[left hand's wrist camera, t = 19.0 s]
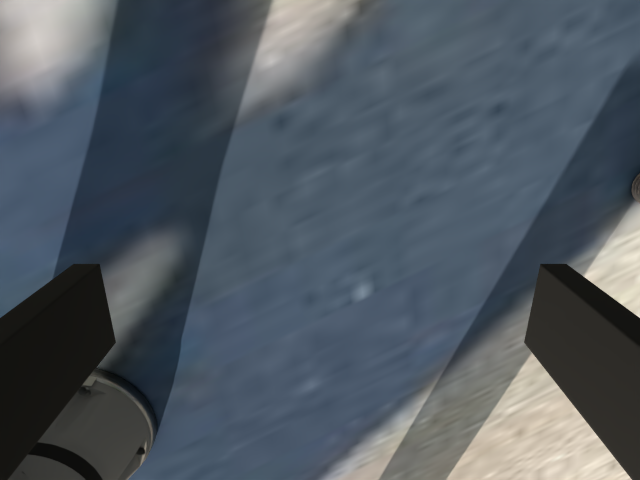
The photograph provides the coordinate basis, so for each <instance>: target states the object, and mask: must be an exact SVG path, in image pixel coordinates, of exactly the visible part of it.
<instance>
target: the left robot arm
mask: <svg viewBox="0 0 640 480" xmlns="http://www.w3.org/2000/svg"><path fill="white" fill-rule="evenodd" d="M115 343H116V341H115V337H114V332H113V327H112V322H111V317H110V312H109V308H108V303H107V298H106V293H105V288H104V283H103V279H102V274H101V269H100V264H73V265H72V266H70V267H69V268H68V269H66V270H65V271H64V272H62V273H61V274H60V275H58V276H57V277H55V278H54V279H53V280H51V281H50V282H49V283H47V284H46V285H45V286H43V287H42V288H41V289H39V290H38V291H36V292H35V293H34V294H32V295H31V296H30V297H28V298H27V299H26V300H24V301H23V302H22V303H20V304H19V305H17V306H16V307H15V308H13V309H12V310H11V311H9V312H8V313H7V314H5V315H4V316H2V317H1V318H0V480H128V478H129V477H130V476H131V475H132V474H133V473H134V472H135V471H136V470H137V469H138V468H139V467H140V466H141V464H142V463H143V462H144V461H145V459H146V458H147V456H148V454H149V452H150V450H151V448H152V445H153V443H154V441H155V438H156V433H157V422H156V418H155V414H154V412H153V409H152V407H151V405H150V404H149V402H148V401H147V399H146V398H145V397H144V396H143V395H142V394H141V393H140V391H138V390H137V389H136V388H135V387H134V386H133V385H131V384H130V383H128V382H127V381H125V380H124V379H122V378H120V377H118V376H116V375H114V374H111V373H109V372H106V371H103V370H99V369H95V368H96V367H97V366H98V364H99V363H100V362H101V361H102V359H103V358H104V357H105V355H106V354H107V353H108V352H109V350H110V349H111V348H112V347H113V345H114V344H115ZM524 343H525V344H526V345H527V347H528V348H529V349H530V350H531V352H532V353H533V354H534V355H535V357H536V358H537V359H538V361H539V362H540V363H541V364H542V366H543V367H544V368H545V369H546V371H547V372H548V373H549V375H550V376H551V377H552V378H553V380H554V381H555V382H556V383H557V385H558V386H559V387H560V389H561V390H562V391H563V392H564V394H565V395H566V396H567V397H568V399H569V400H570V401H571V403H572V404H573V405H574V406H575V408H576V409H577V410H578V411H579V413H580V414H581V415H582V417H583V418H584V419H585V420H586V422H587V423H588V424H589V425H590V427H591V428H592V429H593V431H594V432H595V433H596V434H597V436H598V437H599V438H600V439H601V441H602V442H603V443H604V445H605V446H606V447H607V448H608V450H609V451H610V452H611V453H612V455H613V456H614V457H615V459H616V460H617V461H618V462H619V464H620V465H621V466H622V467H623V469H624V470H625V471H626V472H627V474H628V475H629V476H630V478H631V479H632V480H640V318H639V317H638V316H636V315H635V314H633V313H632V312H631V311H629V310H628V309H627V308H625V307H624V306H623V305H621V304H620V303H618V302H617V301H616V300H614V299H613V298H612V297H610V296H609V295H608V294H606V293H605V292H604V291H602V290H601V289H599V288H598V287H597V286H595V285H594V284H593V283H591V282H590V281H589V280H587V279H586V278H585V277H583V276H582V275H580V274H579V273H578V272H576V271H575V270H574V269H572V268H571V267H570V266H568V265H567V264H540V269H539V274H538V279H537V283H536V288H535V293H534V298H533V303H532V308H531V312H530V317H529V322H528V327H527V332H526V337H525V341H524Z"/></svg>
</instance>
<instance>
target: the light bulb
mask: <svg viewBox="0 0 640 480" xmlns="http://www.w3.org/2000/svg"><path fill="white" fill-rule="evenodd" d="M632 195H633V197H634V198H635V200H636V201H637V202H639V203H640V174H639V175H638V176H637V177H636V178H635V180H634V182H633V184H632Z"/></svg>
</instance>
